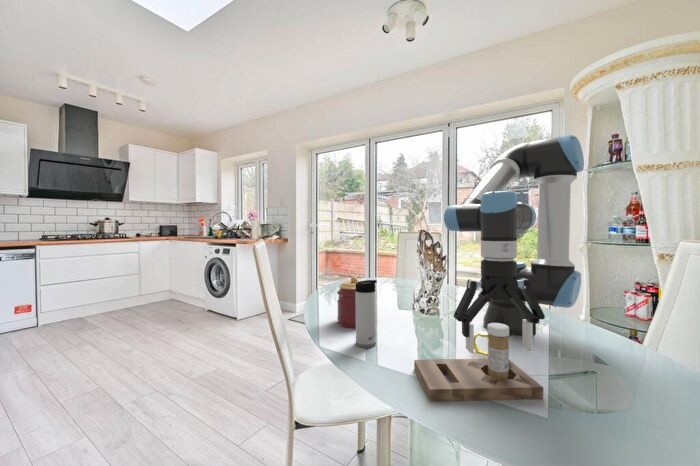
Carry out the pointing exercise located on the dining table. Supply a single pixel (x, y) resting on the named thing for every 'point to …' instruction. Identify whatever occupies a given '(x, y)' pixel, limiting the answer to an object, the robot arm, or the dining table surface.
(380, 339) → the dining table surface
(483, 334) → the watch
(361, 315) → the travel mug
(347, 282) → the canister
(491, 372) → the sprinkles bottle
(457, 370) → the socket plate
